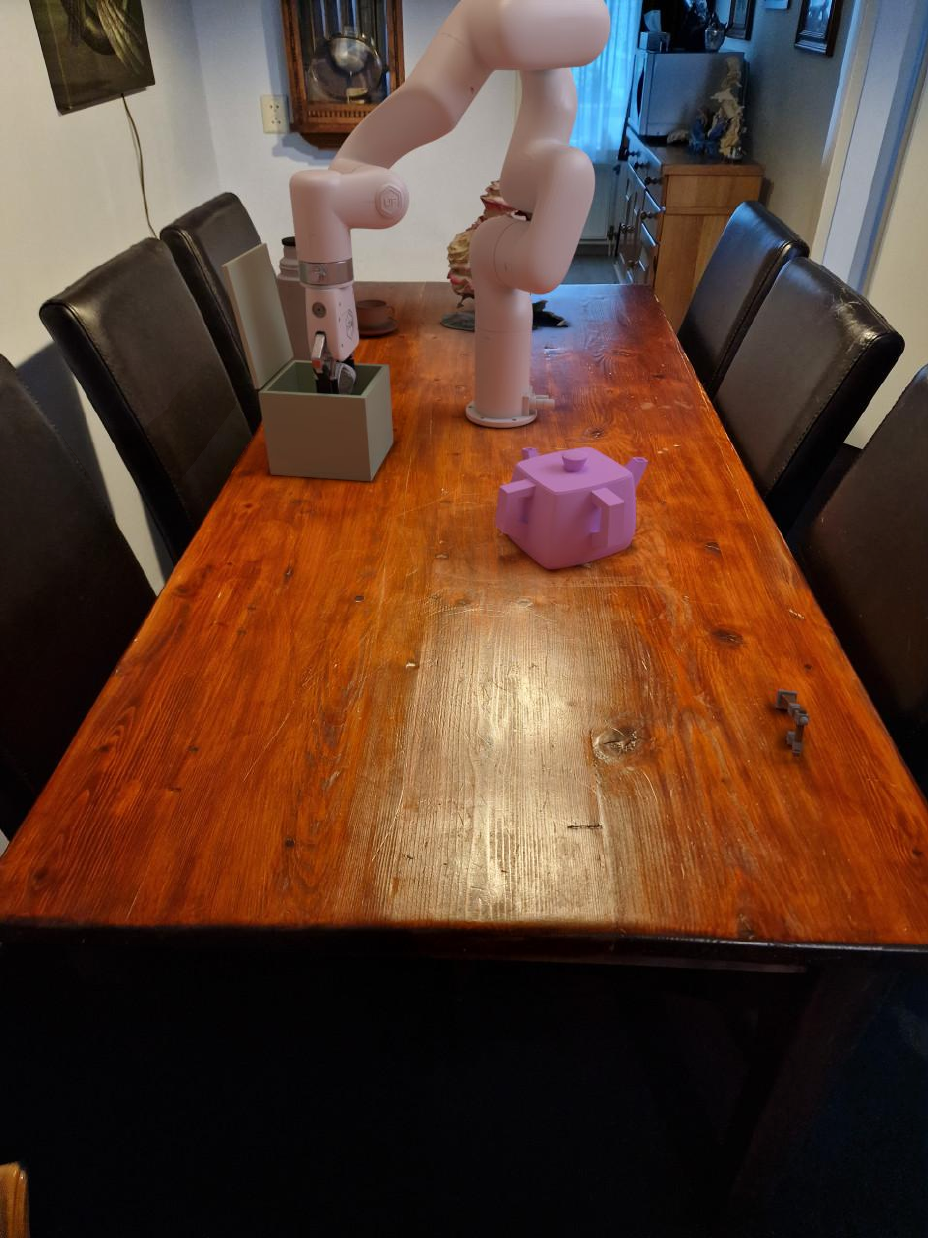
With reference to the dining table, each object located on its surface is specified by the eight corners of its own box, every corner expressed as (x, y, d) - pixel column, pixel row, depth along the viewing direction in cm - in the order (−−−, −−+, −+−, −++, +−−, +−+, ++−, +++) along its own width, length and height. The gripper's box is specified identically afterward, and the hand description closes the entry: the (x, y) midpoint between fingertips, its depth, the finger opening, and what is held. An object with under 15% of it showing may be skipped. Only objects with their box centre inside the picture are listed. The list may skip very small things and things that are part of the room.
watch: (363, 425, 130) (357, 356, 124) (354, 445, 123) (348, 373, 117) (328, 424, 130) (321, 355, 124) (318, 445, 124) (309, 373, 117)
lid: (266, 242, 119) (261, 243, 119) (227, 265, 107) (221, 265, 107) (293, 356, 128) (288, 356, 129) (260, 388, 116) (254, 389, 117)
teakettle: (489, 563, 103) (491, 473, 96) (520, 503, 116) (523, 420, 109) (624, 583, 99) (636, 491, 92) (640, 519, 112) (652, 434, 105)
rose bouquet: (492, 300, 207) (494, 166, 190) (579, 324, 190) (590, 178, 173) (414, 319, 193) (409, 177, 176) (501, 347, 176) (505, 191, 158)
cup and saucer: (369, 321, 192) (368, 294, 189) (409, 329, 187) (408, 301, 183) (334, 333, 184) (332, 305, 181) (374, 342, 179) (373, 313, 175)
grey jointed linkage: (787, 759, 73) (795, 711, 73) (771, 731, 81) (778, 687, 80) (809, 762, 73) (817, 714, 72) (790, 733, 81) (797, 689, 80)
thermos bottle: (343, 398, 151) (328, 233, 135) (329, 414, 144) (311, 243, 128) (302, 395, 152) (283, 231, 136) (286, 411, 146) (264, 241, 129)
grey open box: (393, 442, 134) (389, 364, 127) (371, 481, 122) (365, 397, 115) (301, 436, 136) (291, 359, 129) (270, 474, 124) (257, 392, 117)
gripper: (334, 288, 105) (346, 417, 116) (368, 259, 120) (375, 376, 130) (279, 286, 106) (295, 414, 117) (318, 257, 120) (330, 374, 131)
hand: (337, 394), depth 123 cm, fingers closed on watch, 8 cm apart
